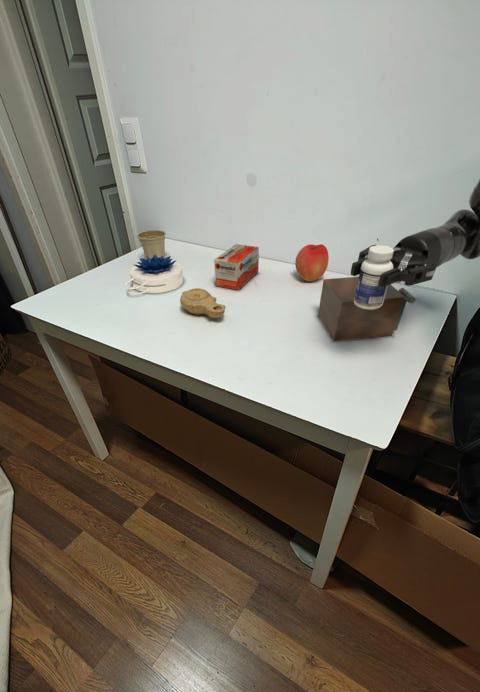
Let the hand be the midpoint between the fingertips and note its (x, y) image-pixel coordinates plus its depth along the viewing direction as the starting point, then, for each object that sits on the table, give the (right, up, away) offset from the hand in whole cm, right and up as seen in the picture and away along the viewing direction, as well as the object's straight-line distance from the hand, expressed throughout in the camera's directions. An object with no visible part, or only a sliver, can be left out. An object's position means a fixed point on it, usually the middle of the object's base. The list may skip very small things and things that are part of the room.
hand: (366, 275), depth 60 cm
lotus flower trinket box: (-49, +17, +45) cm, 69 cm away
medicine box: (-23, +20, +48) cm, 56 cm away
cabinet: (+7, -1, +27) cm, 28 cm away
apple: (-1, +19, +47) cm, 50 cm away
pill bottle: (+2, -3, +5) cm, 7 cm away
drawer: (+10, 0, +26) cm, 28 cm away
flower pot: (-51, +31, +59) cm, 84 cm away
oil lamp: (-32, +4, +32) cm, 46 cm away
